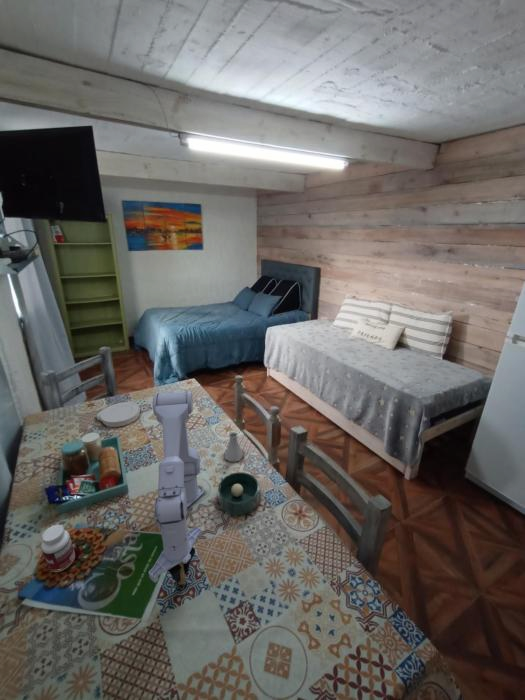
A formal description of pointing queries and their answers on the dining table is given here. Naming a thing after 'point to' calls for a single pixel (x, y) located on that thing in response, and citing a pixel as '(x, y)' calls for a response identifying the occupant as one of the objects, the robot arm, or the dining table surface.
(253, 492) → the bowl
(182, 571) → the stick
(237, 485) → the ball
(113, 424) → the lid
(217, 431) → the dining table surface
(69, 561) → the pill bottle
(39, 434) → the dining table surface
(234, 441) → the flask
